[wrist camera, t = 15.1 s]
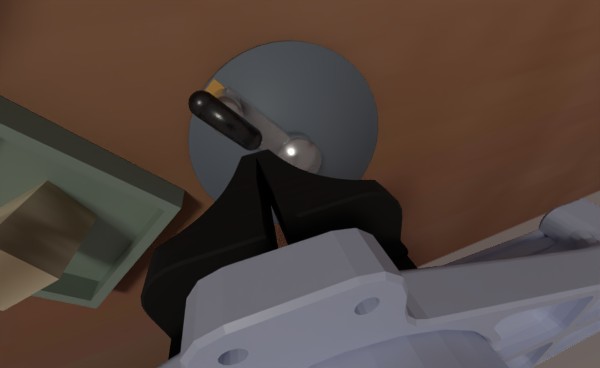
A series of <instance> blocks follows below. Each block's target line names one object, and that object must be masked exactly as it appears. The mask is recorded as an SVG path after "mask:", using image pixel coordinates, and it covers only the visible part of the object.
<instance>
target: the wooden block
mask: <svg viewBox="0 0 600 368" xmlns="http://www.w3.org/2000/svg"><path fill="white" fill-rule="evenodd" d="M97 217H98V216H97V215H96V214H94V213H93V212H92V211H90V210H89V209H87V208H86V207H85V206H83V205H82V204H80V203H79V202H78V201H76V200H75V199H73V198H72V197H71V196H69V195H68V194H66V193H65V192H64V191H62V190H61V189H59V188H58V187H57V186H55V185H54V184H52V183H51V182H49V181H48V180H47V181H45V182H43V183H42V184H40V185H38V186H36V187H35V188H33V189H31V190H30V191H28V192H26V193H24V194H23V195H21V196H19V197H17V198H16V199H14V200H12V201H11V202H9V203H7V204H5V205H4V206H2V207H0V310H2V311H4V310H6V309H7V308H9V307H11V306H13V305H14V304H16V303H18V302H20V301H21V300H23V299H25V298H27V297H29V296H30V295H32V294H34V293H36V292H37V291H39V290H41V289H43V288H44V287H46V286H48V285H50V284H51V283H53V282H55V281H57V280H59V279H60V277H61V276H62V274H63V272H64V271H65V269H66V267H67V266H68V264H69V263H70V261H71V259H72V258H73V256H74V254H75V253H76V251H77V250H78V248H79V246H80V245H81V243H82V241H83V240H84V238H85V237H86V235H87V233H88V232H89V230H90V228H91V227H92V225H93V224H94V222H95V220H96V219H97Z"/></svg>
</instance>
